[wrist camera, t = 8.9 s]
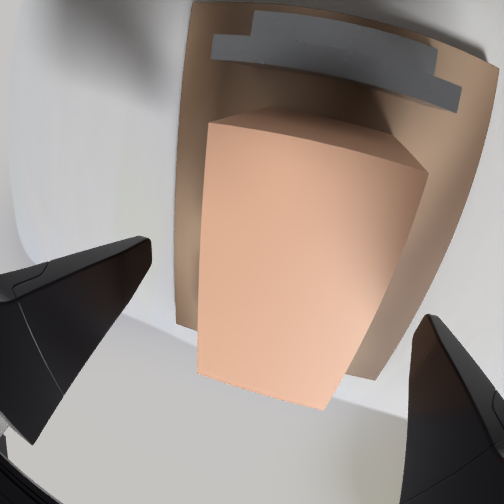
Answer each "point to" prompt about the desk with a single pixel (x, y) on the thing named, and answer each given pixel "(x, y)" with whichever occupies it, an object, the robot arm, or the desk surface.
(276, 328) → the peach rectangular block
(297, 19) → the bookend
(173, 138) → the desk surface
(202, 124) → the shelf board
